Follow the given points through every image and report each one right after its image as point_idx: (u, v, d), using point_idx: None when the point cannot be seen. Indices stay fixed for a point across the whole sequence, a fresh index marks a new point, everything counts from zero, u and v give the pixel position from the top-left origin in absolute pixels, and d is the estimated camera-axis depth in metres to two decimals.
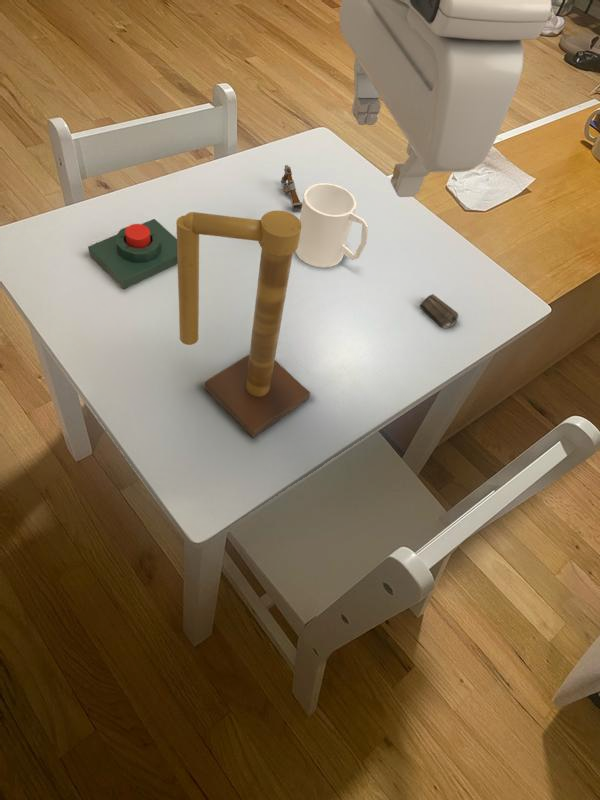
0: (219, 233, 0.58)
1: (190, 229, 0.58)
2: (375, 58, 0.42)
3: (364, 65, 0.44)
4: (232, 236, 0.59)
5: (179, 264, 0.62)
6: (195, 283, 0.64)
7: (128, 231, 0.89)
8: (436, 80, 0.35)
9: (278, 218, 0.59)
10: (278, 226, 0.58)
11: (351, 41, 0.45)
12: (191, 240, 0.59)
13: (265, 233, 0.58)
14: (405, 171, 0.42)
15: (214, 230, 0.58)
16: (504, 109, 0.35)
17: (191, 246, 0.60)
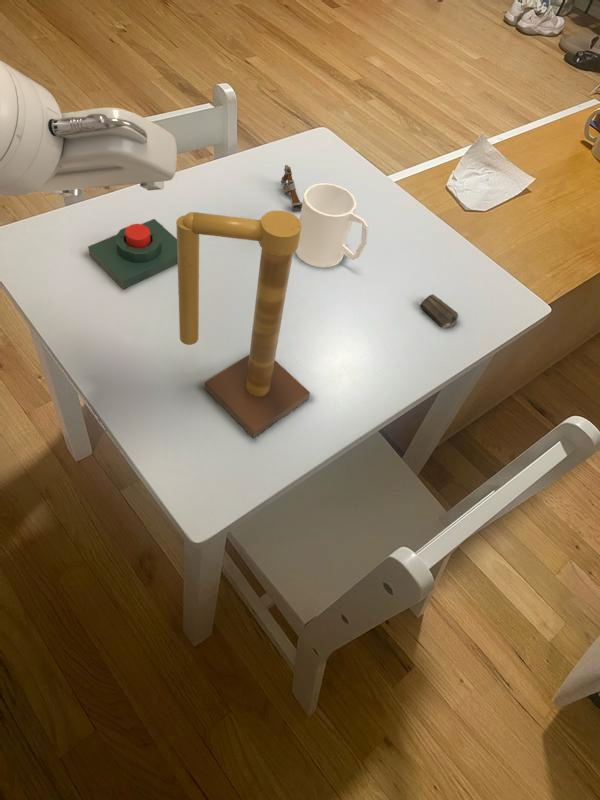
0: (219, 233, 0.58)
1: (190, 229, 0.58)
2: None
3: None
4: (232, 236, 0.59)
5: (179, 264, 0.62)
6: (195, 283, 0.64)
7: (128, 231, 0.89)
8: None
9: (278, 218, 0.59)
10: (278, 226, 0.58)
11: None
12: (191, 240, 0.59)
13: (265, 233, 0.58)
14: None
15: (214, 230, 0.58)
16: None
17: (191, 246, 0.60)
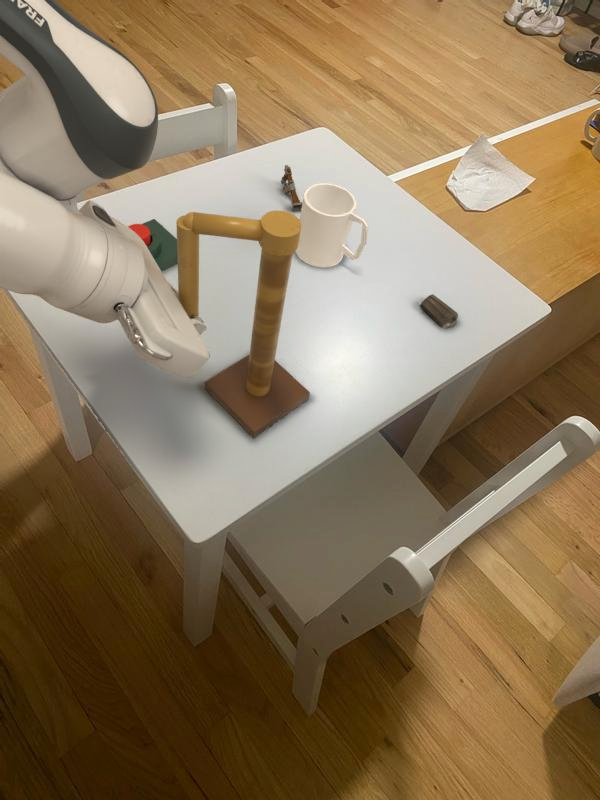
0: (219, 233, 0.58)
1: (190, 229, 0.58)
2: (170, 296, 0.63)
3: (183, 310, 0.63)
4: (232, 236, 0.59)
5: (179, 264, 0.62)
6: (195, 283, 0.64)
7: None
8: None
9: (278, 218, 0.59)
10: (278, 226, 0.58)
11: (195, 330, 0.62)
12: (191, 240, 0.59)
13: (265, 233, 0.58)
14: (175, 288, 0.69)
15: (214, 230, 0.58)
16: None
17: (191, 246, 0.60)
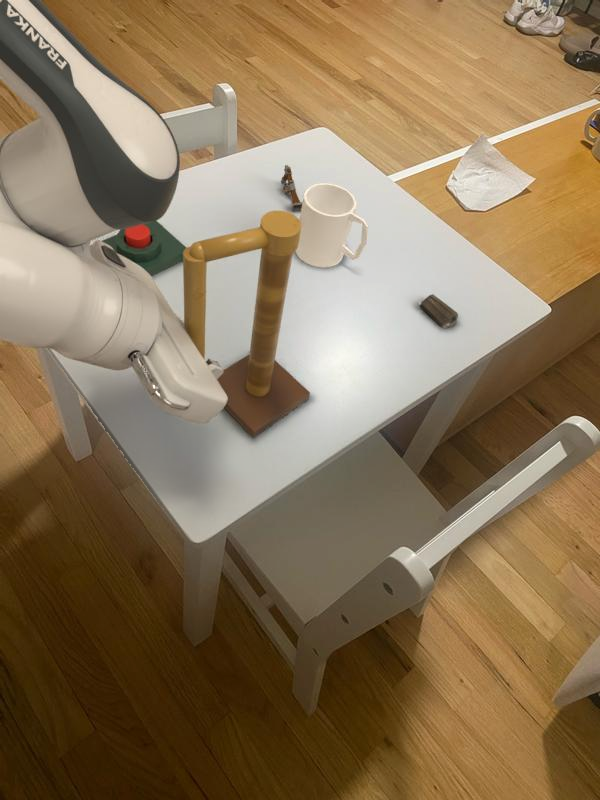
0: (230, 253, 0.57)
1: (202, 259, 0.56)
2: (183, 337, 0.60)
3: (197, 351, 0.61)
4: (241, 252, 0.57)
5: (190, 298, 0.59)
6: (204, 311, 0.62)
7: (128, 231, 0.89)
8: None
9: (275, 219, 0.59)
10: (281, 227, 0.58)
11: (211, 373, 0.59)
12: (203, 269, 0.57)
13: (274, 238, 0.58)
14: (182, 319, 0.66)
15: (225, 252, 0.56)
16: None
17: (203, 276, 0.57)
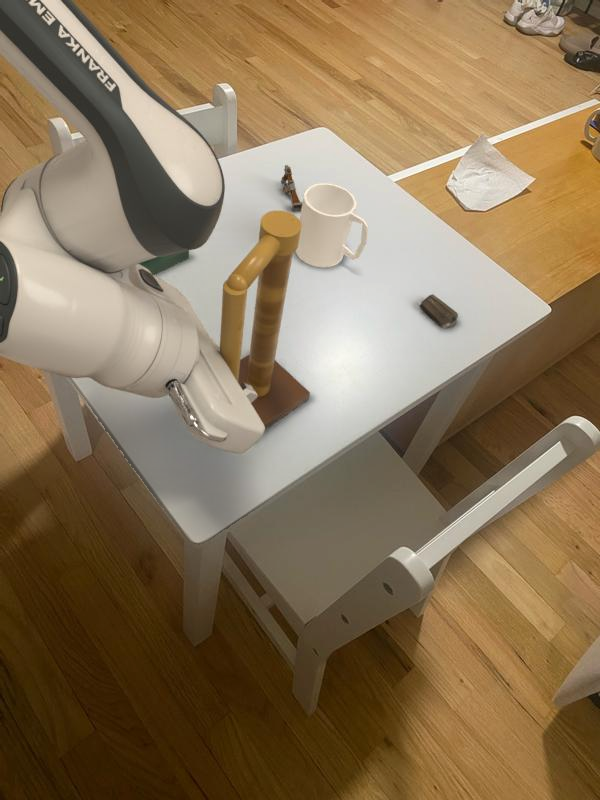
0: (260, 271, 0.56)
1: (246, 288, 0.54)
2: (219, 363, 0.59)
3: (234, 377, 0.59)
4: (266, 265, 0.57)
5: (234, 331, 0.57)
6: None
7: None
8: None
9: (273, 221, 0.58)
10: (285, 226, 0.58)
11: (248, 401, 0.57)
12: None
13: (286, 239, 0.58)
14: (218, 344, 0.65)
15: (258, 271, 0.55)
16: None
17: (245, 304, 0.56)
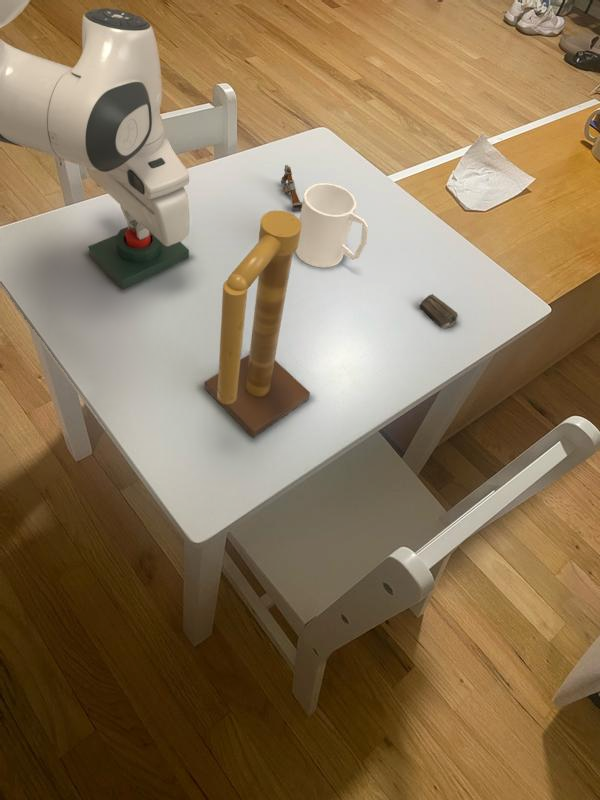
0: (260, 271, 0.56)
1: (247, 288, 0.54)
2: (118, 195, 0.84)
3: (112, 196, 0.85)
4: (266, 265, 0.57)
5: (234, 331, 0.57)
6: None
7: (128, 232, 0.89)
8: (154, 211, 0.79)
9: (273, 221, 0.58)
10: (285, 226, 0.58)
11: (99, 184, 0.86)
12: (246, 298, 0.55)
13: (286, 239, 0.58)
14: (138, 229, 0.87)
15: (258, 271, 0.55)
16: (187, 213, 0.80)
17: (245, 304, 0.56)
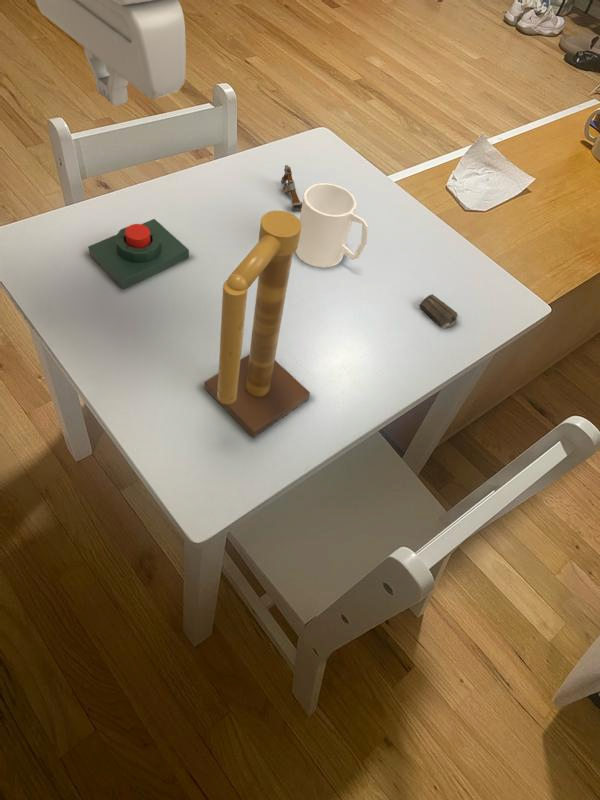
0: (260, 271, 0.56)
1: (247, 288, 0.54)
2: (79, 27, 0.56)
3: (72, 35, 0.58)
4: (266, 265, 0.57)
5: (234, 331, 0.57)
6: None
7: (128, 231, 0.89)
8: (131, 34, 0.51)
9: (273, 221, 0.58)
10: (285, 226, 0.58)
11: (54, 18, 0.59)
12: (246, 298, 0.55)
13: (286, 239, 0.58)
14: (111, 85, 0.59)
15: (258, 271, 0.55)
16: (182, 43, 0.52)
17: (245, 304, 0.56)
